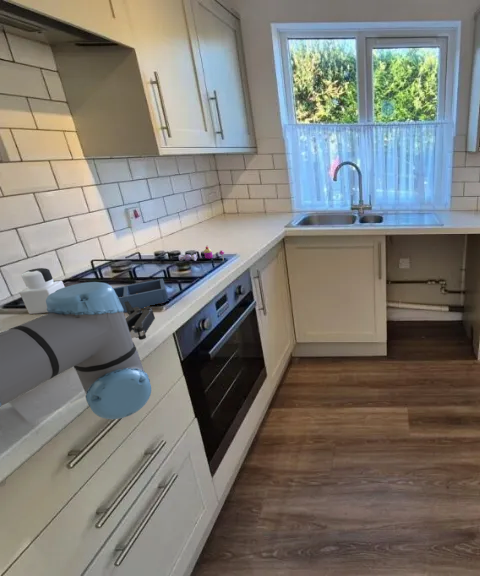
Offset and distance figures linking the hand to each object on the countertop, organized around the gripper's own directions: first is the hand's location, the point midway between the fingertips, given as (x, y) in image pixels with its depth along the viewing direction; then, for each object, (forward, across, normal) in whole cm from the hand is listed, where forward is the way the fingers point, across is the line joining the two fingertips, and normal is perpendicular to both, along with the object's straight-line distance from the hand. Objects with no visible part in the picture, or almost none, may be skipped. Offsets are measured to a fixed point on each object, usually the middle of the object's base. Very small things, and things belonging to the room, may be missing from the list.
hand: (90, 317), depth 76 cm
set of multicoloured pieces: (+61, +43, -11) cm, 75 cm away
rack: (+31, +10, -11) cm, 35 cm away
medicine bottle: (+47, -8, -11) cm, 49 cm away
